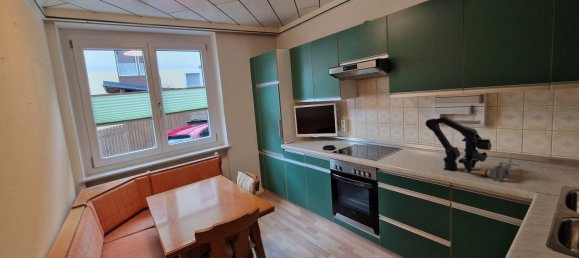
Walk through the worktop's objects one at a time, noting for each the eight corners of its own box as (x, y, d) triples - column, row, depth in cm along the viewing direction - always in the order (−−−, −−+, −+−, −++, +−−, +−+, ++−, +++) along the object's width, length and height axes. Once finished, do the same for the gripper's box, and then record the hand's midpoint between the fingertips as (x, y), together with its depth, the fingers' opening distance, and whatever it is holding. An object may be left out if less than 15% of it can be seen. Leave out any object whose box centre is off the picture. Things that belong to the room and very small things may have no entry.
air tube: (463, 172, 169) (463, 166, 169) (466, 171, 171) (467, 165, 171) (492, 178, 155) (492, 171, 155) (495, 177, 157) (495, 170, 157)
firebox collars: (492, 180, 153) (492, 167, 151) (500, 176, 158) (500, 163, 157) (501, 182, 149) (501, 169, 148) (509, 177, 154) (509, 165, 153)
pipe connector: (519, 169, 165) (520, 155, 163) (518, 174, 158) (519, 158, 157) (500, 167, 172) (500, 153, 170) (497, 171, 165) (498, 157, 164)
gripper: (477, 153, 154) (477, 177, 156) (491, 147, 163) (491, 170, 165) (458, 150, 163) (458, 173, 165) (472, 144, 172) (472, 166, 175)
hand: (470, 171), depth 167 cm, fingers closed on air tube, 4 cm apart
